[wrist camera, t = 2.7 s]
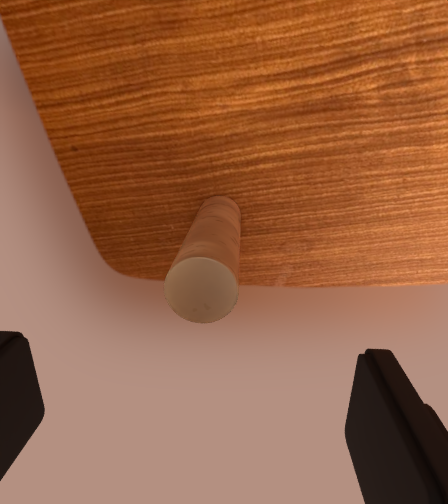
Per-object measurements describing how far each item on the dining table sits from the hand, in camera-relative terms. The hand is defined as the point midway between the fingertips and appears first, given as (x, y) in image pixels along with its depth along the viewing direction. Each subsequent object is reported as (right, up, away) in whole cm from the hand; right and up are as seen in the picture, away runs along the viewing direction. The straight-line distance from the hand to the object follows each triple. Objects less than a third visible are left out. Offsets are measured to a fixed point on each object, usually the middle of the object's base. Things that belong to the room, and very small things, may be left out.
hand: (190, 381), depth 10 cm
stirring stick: (+1, +6, +16) cm, 17 cm away
